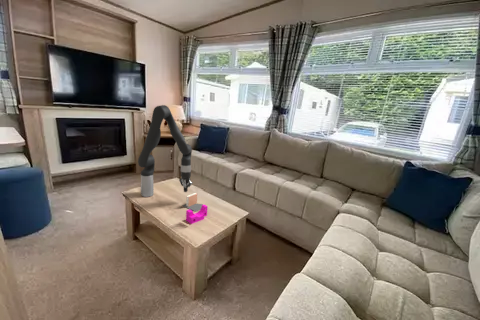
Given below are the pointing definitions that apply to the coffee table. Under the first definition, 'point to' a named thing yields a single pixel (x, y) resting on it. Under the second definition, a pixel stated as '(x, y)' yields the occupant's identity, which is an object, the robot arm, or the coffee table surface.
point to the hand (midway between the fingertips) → (185, 191)
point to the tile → (191, 199)
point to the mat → (194, 207)
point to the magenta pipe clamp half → (196, 215)
